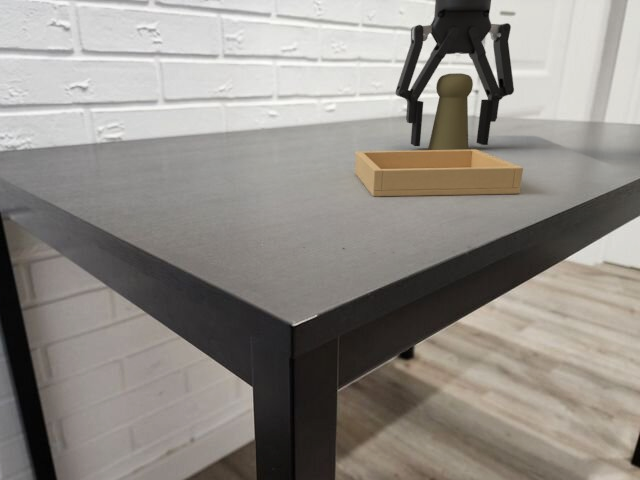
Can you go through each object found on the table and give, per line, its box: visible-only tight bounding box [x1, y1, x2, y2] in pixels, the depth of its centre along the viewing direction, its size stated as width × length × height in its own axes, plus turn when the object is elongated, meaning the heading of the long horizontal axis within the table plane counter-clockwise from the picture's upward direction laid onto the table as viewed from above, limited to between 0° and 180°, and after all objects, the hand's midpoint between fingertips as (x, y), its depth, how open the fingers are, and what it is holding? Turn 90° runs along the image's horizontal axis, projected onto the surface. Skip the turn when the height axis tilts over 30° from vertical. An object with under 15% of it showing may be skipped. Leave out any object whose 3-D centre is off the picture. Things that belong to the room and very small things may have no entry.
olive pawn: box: [427, 72, 474, 150], centre depth 78 cm, size 6×6×11 cm
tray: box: [354, 148, 524, 197], centre depth 56 cm, size 15×13×3 cm
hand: (448, 144), depth 80 cm, fingers open, 10 cm apart
